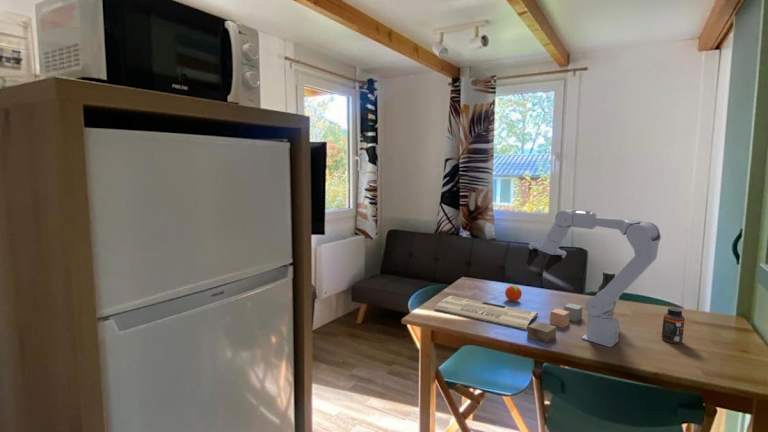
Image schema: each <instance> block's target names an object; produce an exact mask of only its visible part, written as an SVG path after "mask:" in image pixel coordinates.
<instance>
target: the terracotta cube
mask: <svg viewBox="0 0 768 432" xmlns="http://www.w3.org/2000/svg"><path fill="white" fill-rule="evenodd" d="M569 313H570V312H568V311H565V310H564V309H560V308H554V309H553V310H551V311H550V316H549V317H550V318H549V320H550V321H549V325H552V326H555V327H559V328H562V329H563V328H566V327H567V326H568V325H570V324H569V323H570V320H569Z"/></svg>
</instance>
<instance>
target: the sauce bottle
mask: <svg viewBox="0 0 768 432" xmlns="http://www.w3.org/2000/svg"><path fill="white" fill-rule="evenodd" d="M615 276H616V273H615V272H613V271H607V270H605V271H603V273H602V281H601V283H600V284H599V285H598V289H597V293H599V292H600V291H601V290H603V289H604V288H605V287H606V286H607V285H608V284H609V283H610V282H611V281H612V280H613V279H614V277H615ZM614 311H615V308H614V309H613V310H611V314H612V317H613V318H614V313H615V312H614Z"/></svg>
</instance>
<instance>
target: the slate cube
mask: <svg viewBox="0 0 768 432" xmlns="http://www.w3.org/2000/svg"><path fill="white" fill-rule="evenodd" d="M563 307H564V309H563V310H565V311H568V312H570V313H569V321H573V322H579V321H580V320H582V318H583V306H582V305H578V304H574V303H571V302H570V303H569V302H568V304H566V305H564V306H563Z"/></svg>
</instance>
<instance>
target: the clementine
mask: <svg viewBox="0 0 768 432" xmlns="http://www.w3.org/2000/svg"><path fill="white" fill-rule="evenodd" d="M504 293H505V297H506V299H507V300H509V301H510V302H518V301H519V300H520V299H521V298H522V294H523V293H522V290H521V289H520V287H519V286H517V285H510V286H509V285H508V287H507V288H506V289H505V291H504Z"/></svg>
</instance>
